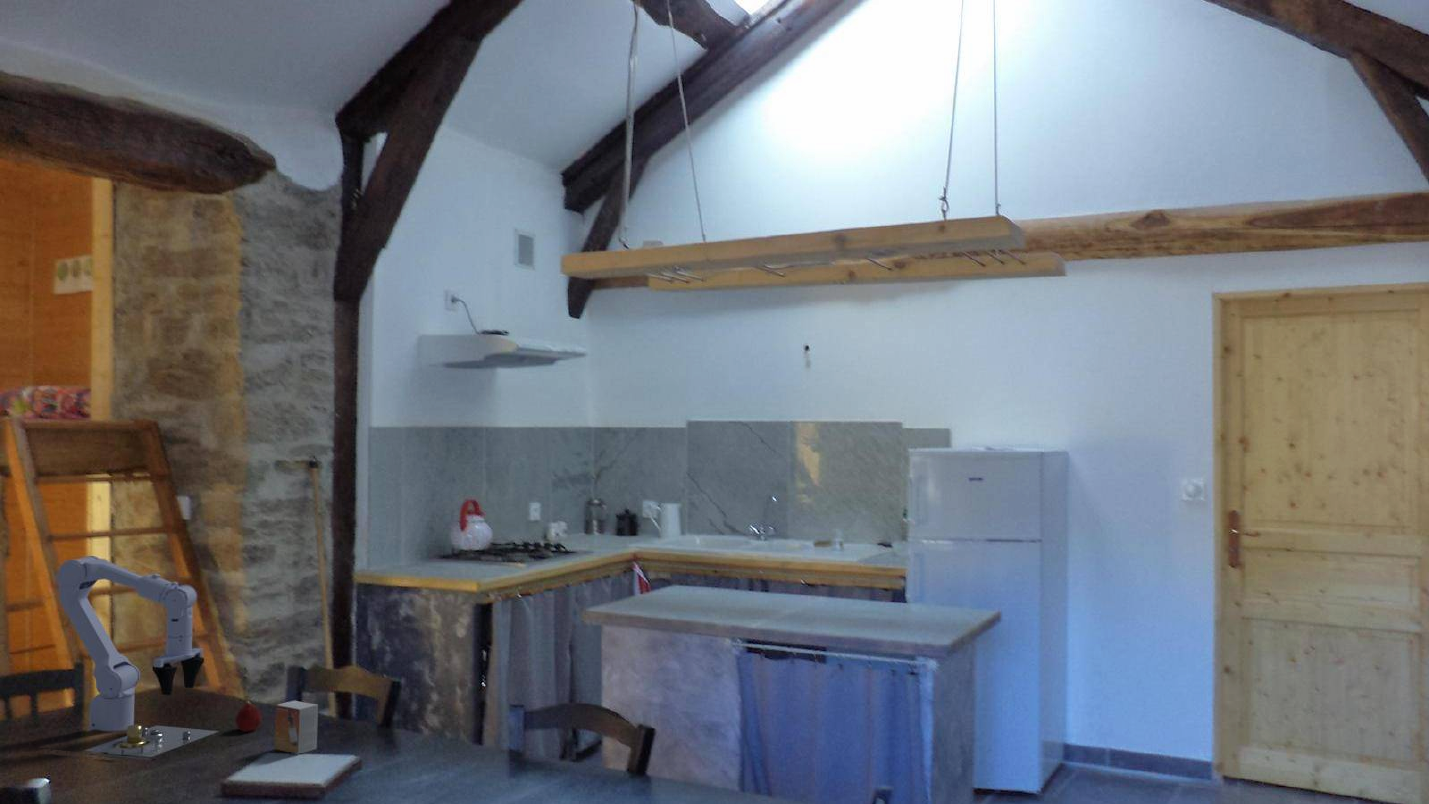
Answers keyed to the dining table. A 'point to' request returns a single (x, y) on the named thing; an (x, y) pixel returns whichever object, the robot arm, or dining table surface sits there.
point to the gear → (134, 737)
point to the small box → (296, 727)
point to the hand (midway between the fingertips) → (178, 691)
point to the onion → (248, 718)
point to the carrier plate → (152, 742)
